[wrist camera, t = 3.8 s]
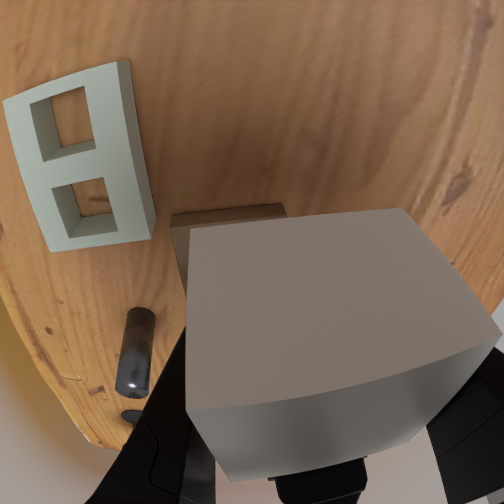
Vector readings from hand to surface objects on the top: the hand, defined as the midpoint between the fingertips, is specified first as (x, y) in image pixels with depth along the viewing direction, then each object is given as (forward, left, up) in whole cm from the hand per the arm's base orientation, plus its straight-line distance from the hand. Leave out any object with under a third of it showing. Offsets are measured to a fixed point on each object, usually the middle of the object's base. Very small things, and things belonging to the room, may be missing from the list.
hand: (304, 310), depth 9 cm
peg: (-12, +10, -12) cm, 19 cm away
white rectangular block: (0, 0, -1) cm, 0 cm away
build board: (+2, +10, -12) cm, 15 cm away
